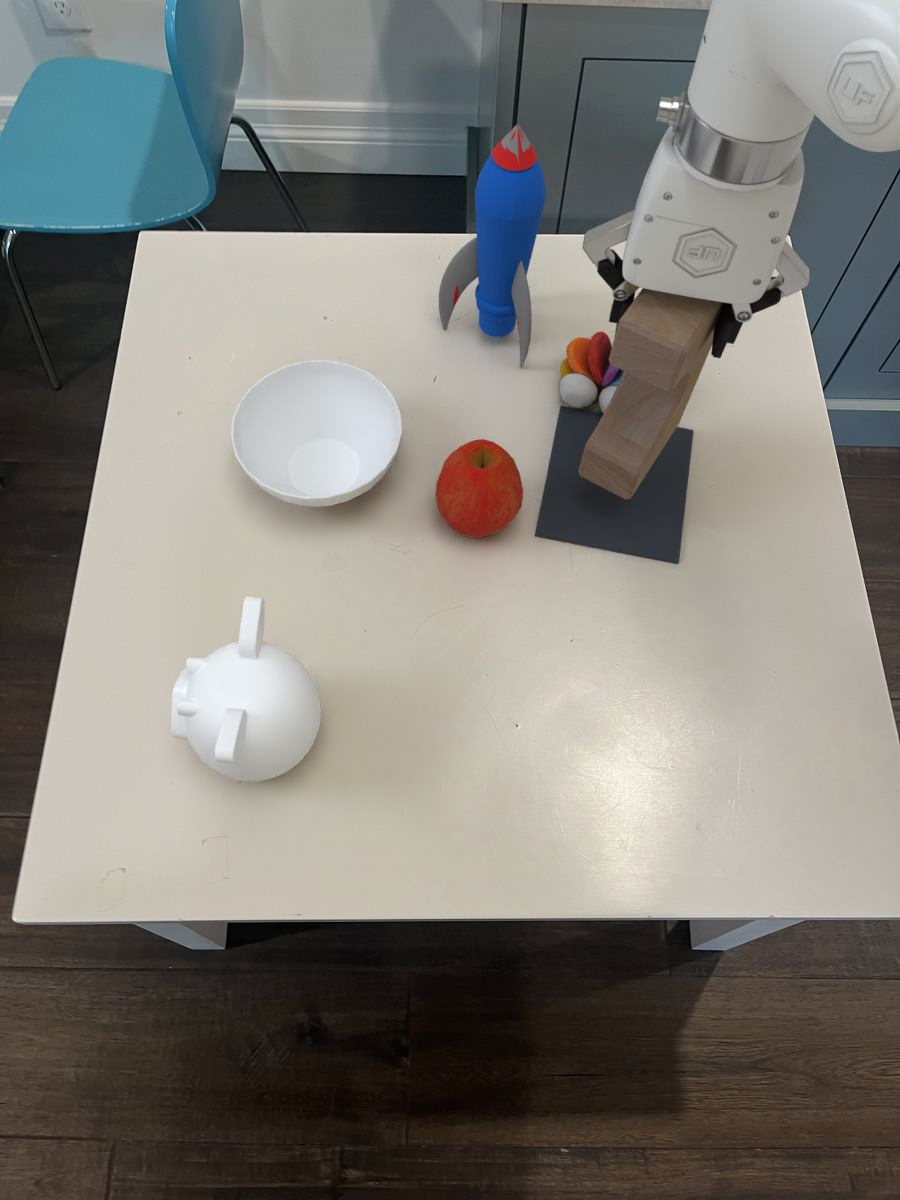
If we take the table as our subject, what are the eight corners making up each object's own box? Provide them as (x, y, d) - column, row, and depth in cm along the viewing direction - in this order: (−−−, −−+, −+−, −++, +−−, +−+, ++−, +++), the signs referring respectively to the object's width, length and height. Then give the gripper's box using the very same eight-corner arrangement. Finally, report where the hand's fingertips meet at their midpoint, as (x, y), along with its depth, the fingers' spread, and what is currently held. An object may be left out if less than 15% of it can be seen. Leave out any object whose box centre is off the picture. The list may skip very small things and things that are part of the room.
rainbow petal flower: (570, 350, 96) (581, 298, 89) (656, 376, 94) (673, 325, 88) (546, 405, 92) (556, 355, 85) (635, 433, 90) (652, 384, 84)
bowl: (212, 460, 88) (196, 417, 82) (338, 380, 93) (332, 333, 87) (308, 567, 83) (299, 530, 77) (436, 477, 88) (437, 435, 82)
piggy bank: (184, 684, 78) (133, 613, 64) (315, 657, 79) (292, 582, 66) (199, 821, 73) (147, 775, 59) (338, 790, 74) (319, 739, 61)
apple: (534, 528, 86) (548, 465, 76) (463, 566, 84) (468, 507, 74) (488, 468, 89) (496, 400, 79) (419, 504, 87) (418, 439, 77)
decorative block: (627, 504, 80) (685, 353, 62) (573, 474, 82) (615, 318, 64) (682, 423, 84) (751, 260, 66) (630, 396, 86) (684, 229, 68)
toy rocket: (526, 373, 94) (558, 169, 72) (437, 371, 94) (441, 165, 71) (523, 298, 99) (553, 84, 76) (438, 295, 99) (442, 80, 76)
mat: (692, 432, 91) (693, 429, 91) (677, 564, 84) (679, 562, 84) (560, 407, 92) (560, 405, 92) (534, 536, 85) (535, 534, 85)
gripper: (591, 147, 52) (552, 352, 68) (885, 195, 51) (776, 392, 67) (607, 69, 56) (567, 282, 72) (884, 112, 54) (780, 319, 70)
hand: (668, 334), depth 69 cm, fingers closed on decorative block, 7 cm apart
